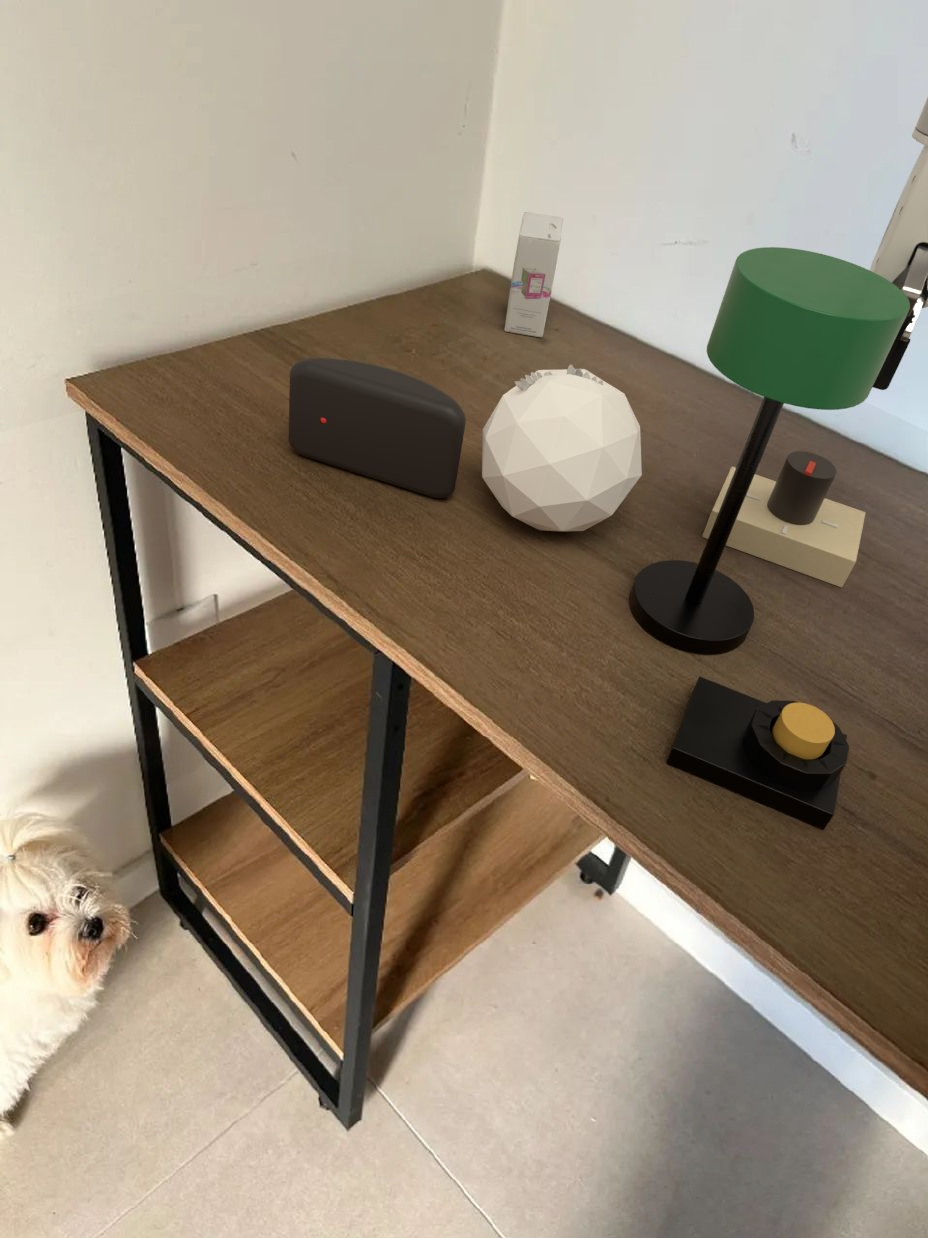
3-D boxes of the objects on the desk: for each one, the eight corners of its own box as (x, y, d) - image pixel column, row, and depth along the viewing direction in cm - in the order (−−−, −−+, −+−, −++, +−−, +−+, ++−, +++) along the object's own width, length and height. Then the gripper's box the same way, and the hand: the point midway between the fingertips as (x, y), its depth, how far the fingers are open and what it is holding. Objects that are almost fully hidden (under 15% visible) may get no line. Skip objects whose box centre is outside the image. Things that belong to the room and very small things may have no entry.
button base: (837, 750, 67) (858, 718, 65) (823, 830, 62) (845, 798, 59) (692, 691, 70) (706, 658, 68) (665, 763, 64) (680, 730, 62)
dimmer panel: (852, 537, 89) (866, 510, 87) (842, 588, 83) (857, 560, 81) (721, 491, 92) (732, 464, 90) (701, 536, 85) (712, 508, 83)
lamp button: (827, 732, 64) (838, 715, 63) (821, 767, 62) (831, 750, 60) (776, 712, 65) (786, 694, 64) (768, 746, 62) (777, 728, 61)
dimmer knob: (773, 491, 87) (794, 442, 84) (818, 508, 86) (842, 459, 83) (762, 512, 84) (783, 463, 81) (809, 531, 83) (833, 481, 80)
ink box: (506, 303, 119) (523, 208, 111) (545, 310, 119) (564, 215, 111) (501, 331, 112) (519, 232, 105) (542, 338, 112) (563, 240, 105)
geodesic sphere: (455, 508, 73) (592, 379, 67) (421, 414, 83) (538, 295, 78) (572, 592, 82) (701, 483, 76) (529, 498, 92) (640, 396, 87)
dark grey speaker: (465, 482, 87) (481, 391, 80) (448, 507, 83) (463, 414, 77) (306, 432, 89) (310, 340, 83) (284, 455, 86) (286, 360, 79)
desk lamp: (764, 600, 80) (915, 279, 61) (740, 678, 72) (904, 337, 53) (643, 555, 82) (753, 233, 64) (606, 625, 74) (719, 281, 56)
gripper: (926, 94, 70) (836, 313, 81) (914, 134, 57) (809, 386, 69) (1030, 118, 68) (923, 338, 79) (1041, 165, 56) (912, 418, 67)
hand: (870, 360), depth 74 cm, fingers open, 9 cm apart
